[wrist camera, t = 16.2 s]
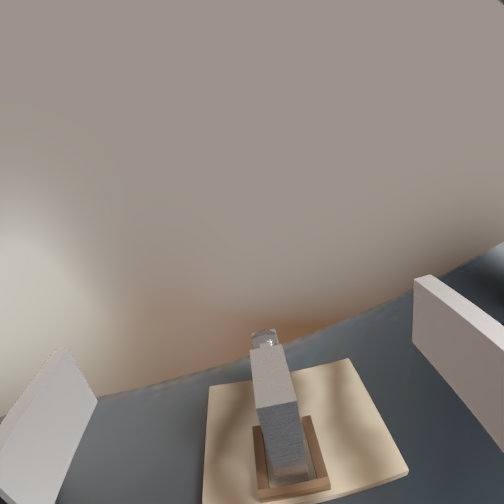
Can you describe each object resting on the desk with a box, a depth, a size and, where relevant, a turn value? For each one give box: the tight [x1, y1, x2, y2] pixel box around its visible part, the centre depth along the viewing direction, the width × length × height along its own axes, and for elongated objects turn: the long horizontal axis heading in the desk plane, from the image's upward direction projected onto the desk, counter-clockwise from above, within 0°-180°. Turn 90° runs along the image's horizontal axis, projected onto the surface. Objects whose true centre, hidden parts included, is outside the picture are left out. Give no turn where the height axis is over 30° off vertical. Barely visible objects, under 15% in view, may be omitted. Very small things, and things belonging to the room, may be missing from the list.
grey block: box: [250, 330, 309, 487], centre depth 28 cm, size 3×11×12 cm, turn 4°
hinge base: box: [202, 358, 409, 504], centre depth 32 cm, size 20×21×2 cm
